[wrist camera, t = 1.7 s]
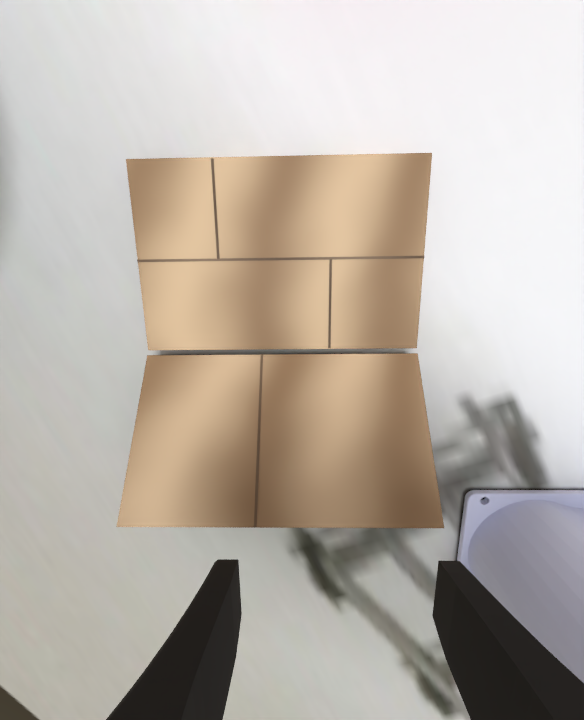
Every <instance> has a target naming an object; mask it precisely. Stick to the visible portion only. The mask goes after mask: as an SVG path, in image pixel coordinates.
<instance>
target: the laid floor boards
mask: <svg viewBox="0 0 584 720" xmlns="http://www.w3.org/2000/svg"><path fill="white" fill-rule="evenodd" d="M431 159H432V153H406V154H357V155H308V156H259V157H209V158H160V159H126V163H127V172H128V180H129V189H130V197H131V206H132V214H133V223H134V232H135V240H136V249H137V257H138V260H137V261H138V266H139V274H140V283H141V291H142V300H143V309H144V317H145V326H146V334H147V343H148V350H238V349H369V348H417V337H418V324H419V311H420V299H421V286H422V273H423V261H424V248H425V235H426V223H427V210H428V197H429V185H430V172H431Z"/></svg>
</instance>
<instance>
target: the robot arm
mask: <svg viewBox="0 0 584 720" xmlns="http://www.w3.org/2000/svg"><path fill="white" fill-rule="evenodd" d="M483 497H485V499H484V500H481V499H482V498H483ZM480 500H481V501H480ZM433 619H434V622H435V625H436V628H437V632H438V635H439V638H440V642H441V645H442V648H443V651H444V654H445V657H446V660H447V663H448V665H449V667H450V670H451V672H452V675H453V677H454V680H455V682H456V685H457V687H458V689H459V692H460V694H461V697H462V699H463V701H464V704H465V706H466V709H467V711H468V713H469V716H470V718H471V720H584V490H471V491H469V492H468V493H467V494H466V496H465V501H464V509H463V517H462V525H461V533H460V540H459V548H458V556H457V561H439V564H438V572H437V581H436V590H435V599H434V608H433ZM240 621H241V598H240V582H239V565H238V560H217V561H216V562H215V563H214V565H213V567H212V569H211V570H210V572H209V574H208V576H207V577H206V579H205V581H204V583H203V584H202V586H201V588H200V589H199V591H198V593H197V594H196V596H195V598H194V599H193V601H192V602H191V604H190V606H189V607H188V609H187V610H186V612H185V613H184V615H183V616H182V618H181V619H180V621H179V622H178V624H177V625H176V627H175V628H174V630H173V632H172V633H171V634H170V636H169V637H168V639H167V640H166V642H165V643H164V644H163V646H162V647H161V649H160V650H159V651H158V653H157V654H156V656H155V657H154V658H153V660H152V661H151V663H150V664H149V665H148V667H147V668H146V669H145V671H144V672H143V674H142V675H141V676H140V677H139V679H138V680H137V681H136V683H135V684H134V685H133V687H132V688H131V689H130V691H129V692H128V693H127V694H126V696H125V697H124V698H123V699H122V701H121V702H120V703H119V704H118V706H117V707H116V708H115V709H114V711H113V712H112V713H111V714H110V715H109V717H108V718H107V719H106V720H222V719H223V714H224V710H225V705H226V701H227V696H228V691H229V687H230V682H231V677H232V673H233V668H234V663H235V659H236V652H237V645H238V637H239V629H240Z"/></svg>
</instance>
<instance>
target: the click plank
mask: <svg viewBox="0 0 584 720" xmlns="http://www.w3.org/2000/svg"><path fill="white" fill-rule="evenodd" d="M117 527H287V528H444V524H443V517H442V511H441V504H440V498H439V491H438V485H437V478H436V472H435V465H434V459H433V452H432V445H431V439H430V432H429V426H428V419H427V413H426V406H425V400H424V393H423V387H422V380H421V374H420V367H419V361H418V354H417V353H415V354H279V355H263V354H261V355H147V361H146V366H145V372H144V377H143V383H142V388H141V394H140V400H139V405H138V411H137V416H136V422H135V427H134V433H133V439H132V444H131V450H130V455H129V461H128V467H127V472H126V478H125V483H124V489H123V494H122V500H121V506H120V511H119V517H118V522H117Z"/></svg>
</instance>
